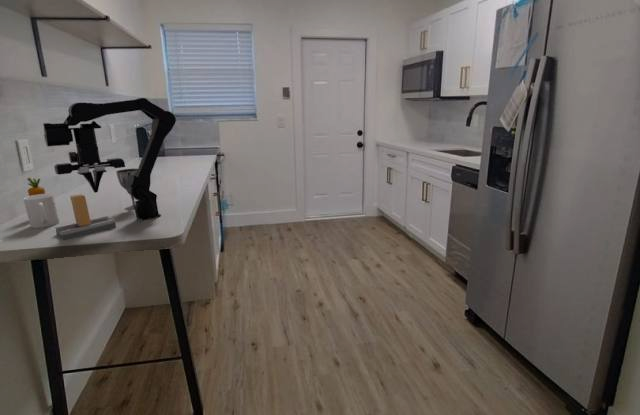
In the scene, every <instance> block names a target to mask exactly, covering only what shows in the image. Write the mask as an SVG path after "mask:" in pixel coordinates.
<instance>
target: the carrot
mask: <svg viewBox="0 0 640 415" xmlns="http://www.w3.org/2000/svg"><path fill="white" fill-rule="evenodd" d="M27 181H28V182H29V183H27V185H29V186H31V187H29V188H27V194H28V196H32V195H38V194H46V190H45V188H44V187H42V186H39V184H40V181H41V178H37V179H36V178H33V179H32V178H31V177H27Z"/></svg>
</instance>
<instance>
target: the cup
mask: <svg viewBox="0 0 640 415" xmlns="http://www.w3.org/2000/svg"><path fill="white" fill-rule="evenodd" d="M22 201H23V202H24V203H23V204H24V206H25V210H26V213H27V214H26V215H27V218H28V222H29V225H30V227H31V228H34V229H41V228H48V227H53V226H55V225H57V224H59V223H60V217H59V214H58V213H59V212H58V209H57V206H56V200H55V197H54V194H52V193H45V194H38V195H32V196H29V195H28V196H26V197H23V200H22Z"/></svg>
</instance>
